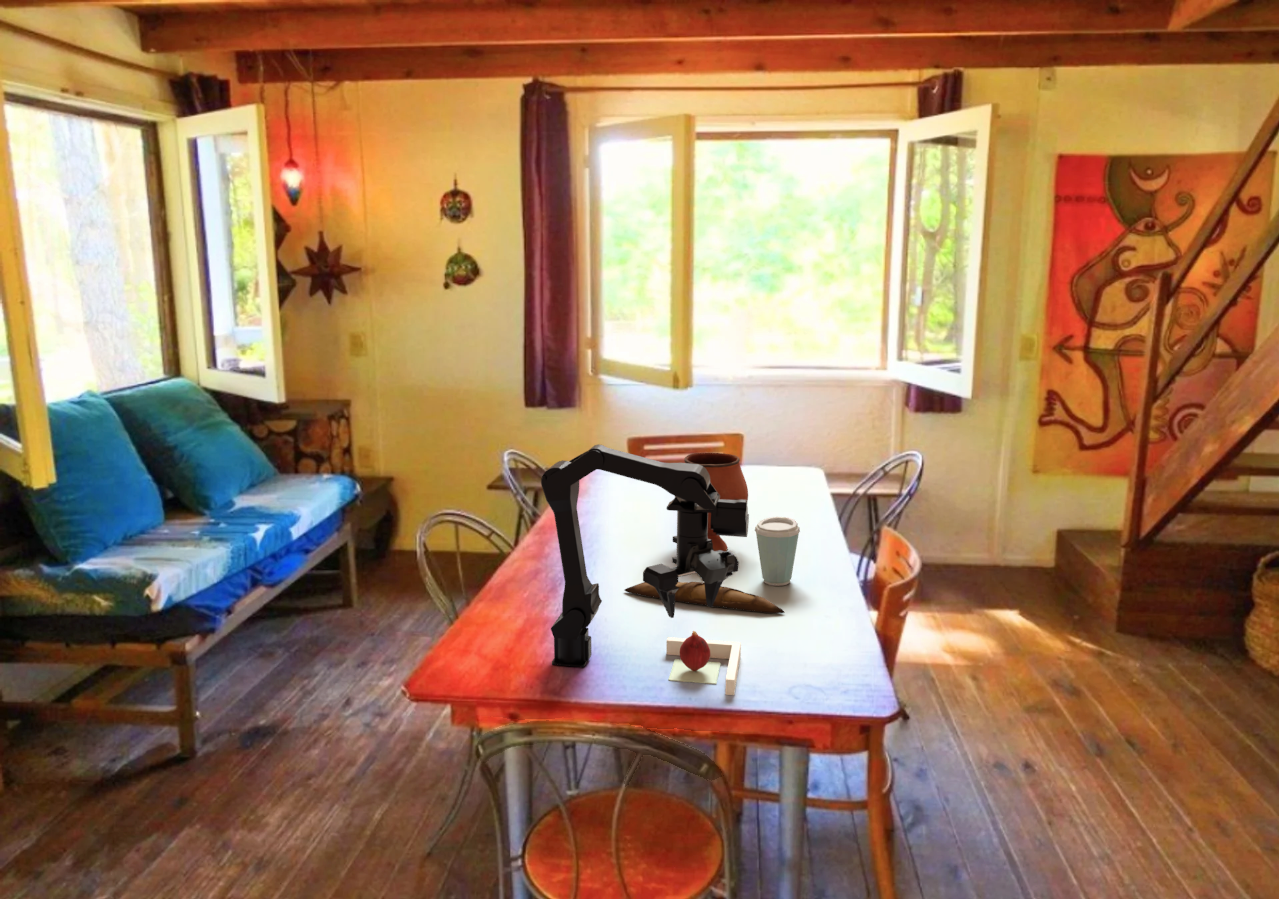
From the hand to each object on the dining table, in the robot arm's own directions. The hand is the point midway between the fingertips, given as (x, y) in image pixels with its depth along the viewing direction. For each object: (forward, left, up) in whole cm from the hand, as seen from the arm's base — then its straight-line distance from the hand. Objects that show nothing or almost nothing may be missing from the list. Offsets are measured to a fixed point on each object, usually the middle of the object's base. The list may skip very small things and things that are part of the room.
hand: (690, 611), depth 180 cm
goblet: (-3, +74, -12) cm, 75 cm away
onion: (+1, -1, -12) cm, 12 cm away
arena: (+1, 0, -12) cm, 12 cm away
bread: (-1, +35, -12) cm, 37 cm away
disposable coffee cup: (+15, +52, -12) cm, 55 cm away
